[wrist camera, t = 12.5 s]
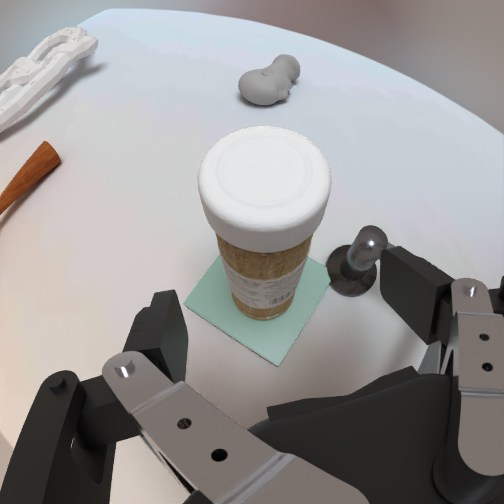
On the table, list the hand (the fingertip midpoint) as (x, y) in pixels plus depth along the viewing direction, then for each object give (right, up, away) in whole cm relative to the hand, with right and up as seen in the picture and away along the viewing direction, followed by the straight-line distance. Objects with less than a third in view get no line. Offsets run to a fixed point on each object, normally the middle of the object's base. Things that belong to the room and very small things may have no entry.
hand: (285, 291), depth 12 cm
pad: (-1, -1, +11) cm, 11 cm away
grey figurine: (+1, +20, +21) cm, 29 cm away
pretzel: (-39, +28, +26) cm, 54 cm away
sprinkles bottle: (0, -1, +11) cm, 11 cm away
